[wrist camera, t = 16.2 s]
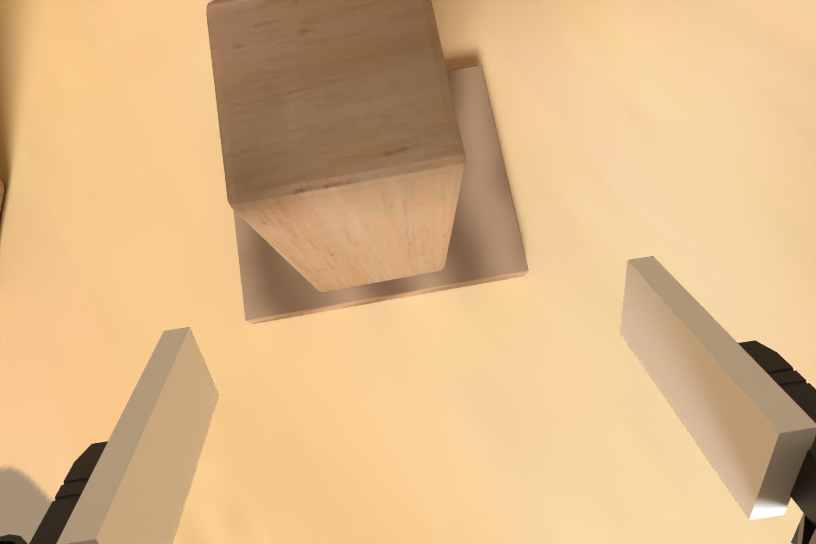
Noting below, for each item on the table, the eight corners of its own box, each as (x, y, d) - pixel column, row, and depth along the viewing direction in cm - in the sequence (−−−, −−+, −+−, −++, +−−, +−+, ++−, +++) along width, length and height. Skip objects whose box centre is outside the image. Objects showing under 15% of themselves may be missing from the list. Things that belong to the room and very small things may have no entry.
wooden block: (300, 174, 43) (200, -4, 23) (422, 152, 43) (423, -42, 24) (318, 294, 41) (224, 208, 21) (446, 271, 41) (469, 164, 21)
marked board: (478, 78, 47) (481, 65, 45) (523, 275, 43) (528, 270, 41) (230, 121, 46) (222, 109, 44) (253, 323, 43) (245, 320, 41)
